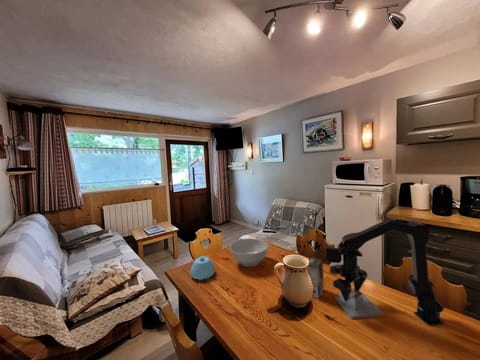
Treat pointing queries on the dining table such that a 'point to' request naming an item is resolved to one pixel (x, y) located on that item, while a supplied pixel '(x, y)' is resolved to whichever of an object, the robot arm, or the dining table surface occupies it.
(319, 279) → the coffee box
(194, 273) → the light blue dome
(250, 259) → the decorative bowl
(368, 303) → the duct plate
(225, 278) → the dining table surface
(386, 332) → the dining table surface
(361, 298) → the collar
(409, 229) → the robot arm
